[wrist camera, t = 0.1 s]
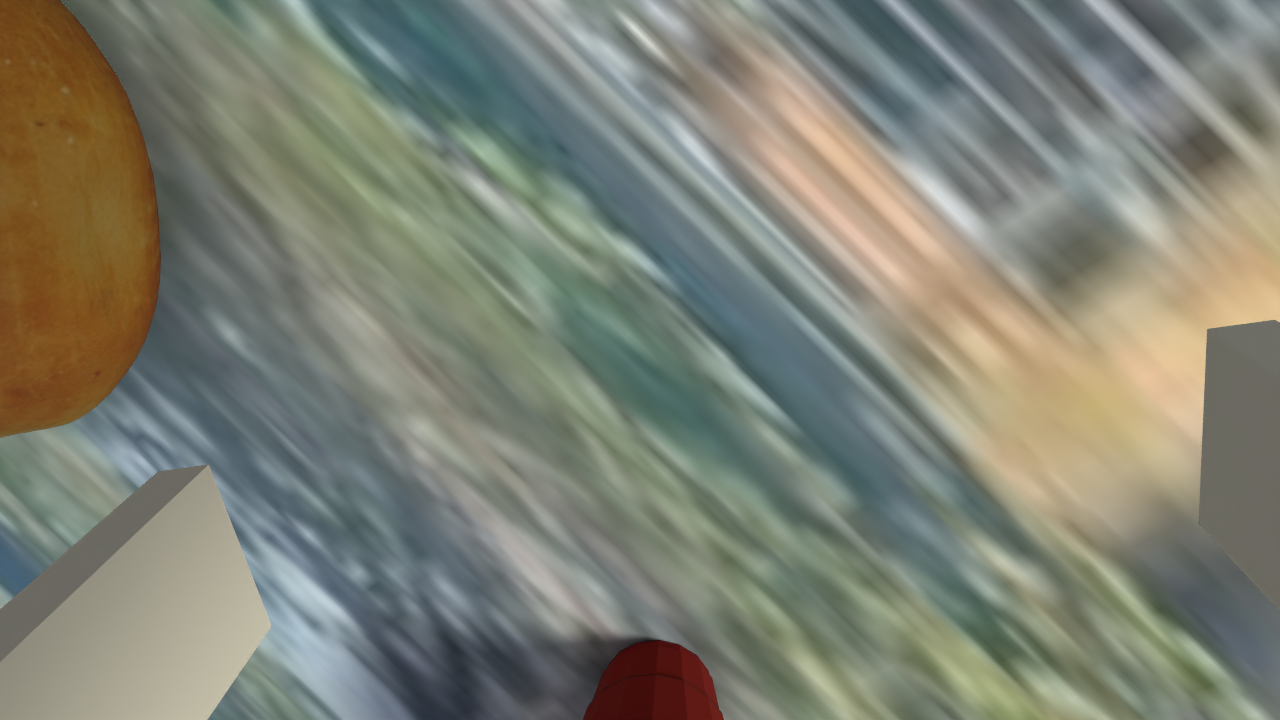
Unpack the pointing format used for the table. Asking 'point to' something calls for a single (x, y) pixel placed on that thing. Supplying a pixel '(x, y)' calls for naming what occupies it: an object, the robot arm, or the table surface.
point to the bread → (68, 221)
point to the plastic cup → (655, 686)
